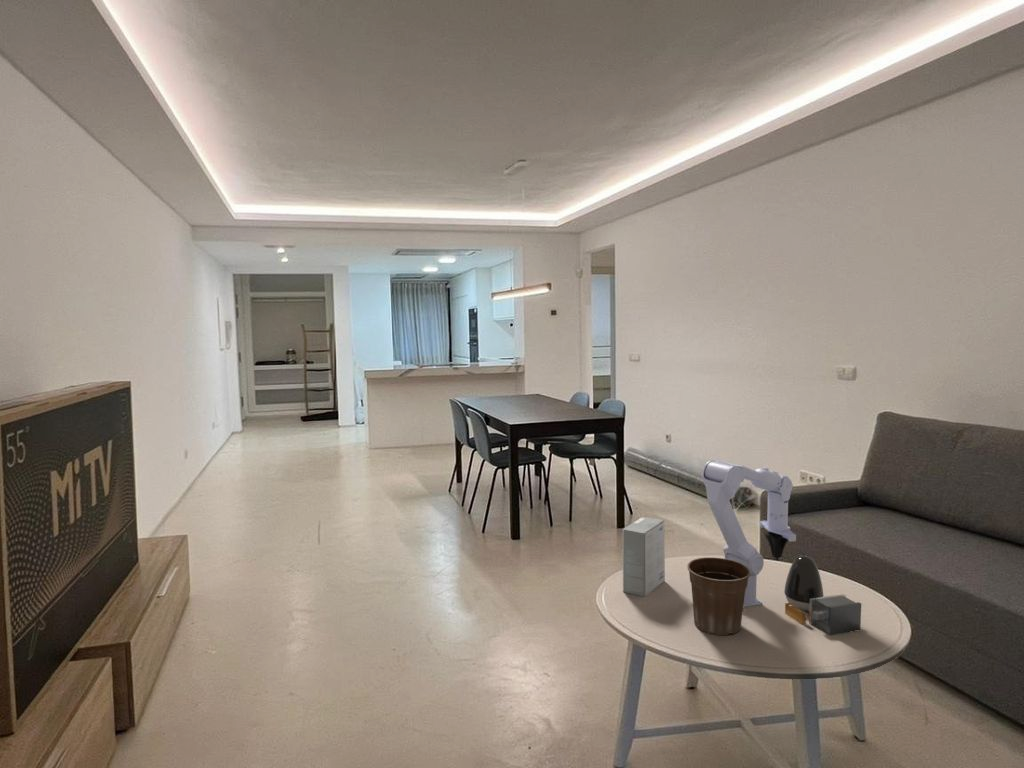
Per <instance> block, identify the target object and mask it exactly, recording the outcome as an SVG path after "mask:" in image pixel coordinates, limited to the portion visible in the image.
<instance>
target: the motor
mask: <svg viewBox="0 0 1024 768" xmlns="http://www.w3.org/2000/svg"><path fill="white" fill-rule="evenodd" d="M784 609H785V610H784V614H785V615H786V616H788V617H789V618H790V619H793V620H794V621H796V622H797V623H799V624H800V625H807V624H806V623H807V613H806V611H801V610H800V609H798V608H797V607H795V606H793V605H792V604H790V603H788V602H785V606H784ZM808 613H809V614H808V625H812V626H813V625H815V626H816V627H817V628H819V629H821V630H822V631H824V632H825V633H826V634H828V635H830V636H833V635H838V634H839V635H840V634H845V632H846V633H851V632H850V631H853V632H856V631H855V630H860V631H861V624H862V623H861V622H862V621H861V620H862V603H861V602H859V601H858V602H856V601H853V600H852V599H850V598H848V597H847V595H846V594H844V593H842V594H835V595H827V596H823V597H819V598H811V599H810V606H809V611H808Z"/></svg>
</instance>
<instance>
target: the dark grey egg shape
mask: <svg viewBox="0 0 1024 768" xmlns="http://www.w3.org/2000/svg"><path fill="white" fill-rule="evenodd" d="M784 595H785V598H786V600H787V603H790V604H792V605H793V606H795V607H797V608H798V609H800V610H801V611H803V612H809V606H810V599H811V598H819V597H824V589H823V582H822V577H821V575H820V571H819V568H818V566H817V563H816V562H815V560H813V558H811V557H810V556H807V554H806V552H805V553H802V554H801V555H800V556H798V557H796V558H795V559H794V560H793V562H792V563H791V565H790V568H789V570H788V573H787V576H786V580H785V584H784Z"/></svg>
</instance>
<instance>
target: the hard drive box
mask: <svg viewBox="0 0 1024 768" xmlns="http://www.w3.org/2000/svg"><path fill="white" fill-rule="evenodd" d="M665 554H666V553H665V520H664V519H659V518H654V517H649V516H648V517H647V516H642V517H640V518H639V519H638V518H637V520H636V521H634V522H632V523H631V524H629V525H628V526H625V528H623V529H622V592H624V593H627V594H631V595H635V596H640V597H644V598H645V597H646V596H647V595H649V594H650V593H651V592H652V591H653V590H655V589H656V588H657V587H658V586H660V585H661V584H662V583H663V582H665V580H666V579H665V578H666V577H665V576H666V571H665V570H666V569H665V568H666V567H665V566H666V564H665V563H666V562H665V559H666V558H665V556H666V555H665Z"/></svg>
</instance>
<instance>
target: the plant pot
mask: <svg viewBox="0 0 1024 768" xmlns="http://www.w3.org/2000/svg"><path fill="white" fill-rule="evenodd" d="M686 566H687V570H688V572H689V573H688V575H689V581H690V585H691V595H692V596H691V597H692V609H693V621H694V622H693V623H694V625H695V626H697V628H699V629H700V631H702V632H705V633H708V634H710V635H717V636H727V635H729V634H731V635H735V634H738V633H739V632H740V631H741V628H742V620H743V619H742V618H743V613H744V612H743V611H744V607H743V604H744V597H745V589H746V588H747V583H748V577H749V576H750V569H749V568H748V567H746V566H745V565H743V564H741V563H739V562H736V561H733V560H729V559H725V558H721V557H713V556H711V557H699V558H695V559H692V560H690V561H689V562H688V563H687V565H686Z"/></svg>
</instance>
